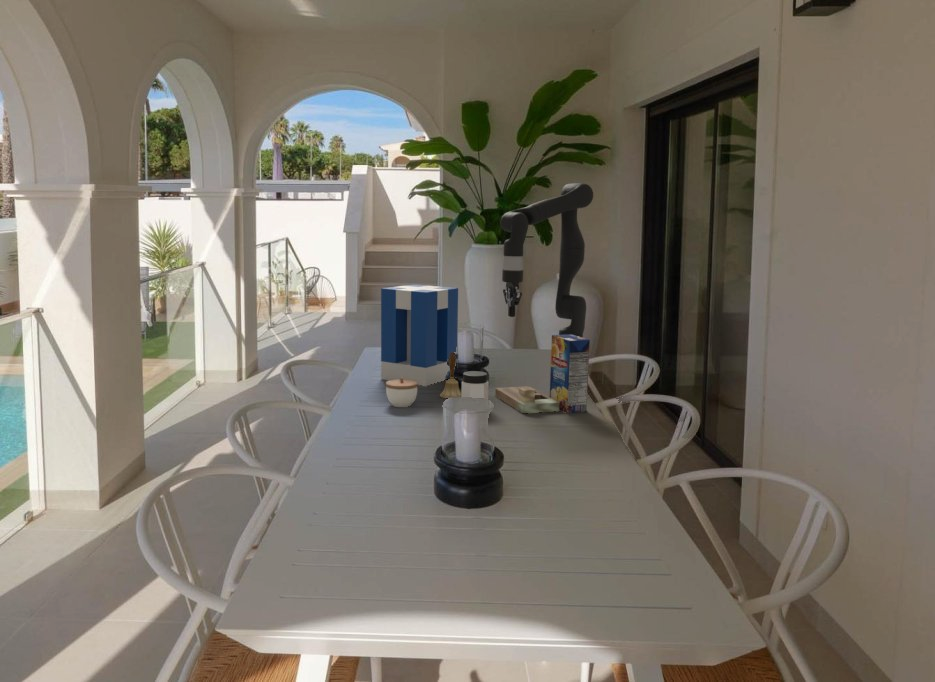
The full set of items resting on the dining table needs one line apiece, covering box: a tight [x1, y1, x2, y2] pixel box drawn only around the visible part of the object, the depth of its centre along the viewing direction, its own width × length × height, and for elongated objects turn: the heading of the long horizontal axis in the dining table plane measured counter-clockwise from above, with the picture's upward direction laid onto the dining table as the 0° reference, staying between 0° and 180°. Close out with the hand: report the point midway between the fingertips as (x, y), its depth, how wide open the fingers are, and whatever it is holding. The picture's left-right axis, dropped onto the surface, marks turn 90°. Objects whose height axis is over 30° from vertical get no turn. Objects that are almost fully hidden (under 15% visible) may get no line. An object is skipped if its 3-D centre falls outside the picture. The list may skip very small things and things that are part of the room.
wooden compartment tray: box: [494, 385, 560, 414], centre depth 271 cm, size 13×25×3 cm, turn 19°
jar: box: [460, 370, 489, 400], centre depth 261 cm, size 9×8×12 cm
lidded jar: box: [385, 378, 419, 408], centre depth 265 cm, size 11×11×9 cm
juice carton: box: [549, 334, 591, 414], centre depth 264 cm, size 12×8×24 cm, turn 23°
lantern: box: [380, 284, 459, 387], centre depth 305 cm, size 21×21×35 cm
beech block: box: [519, 386, 535, 403], centre depth 262 cm, size 4×4×4 cm
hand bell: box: [439, 352, 461, 399], centre depth 278 cm, size 8×8×16 cm
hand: (511, 316), depth 287 cm, fingers closed
